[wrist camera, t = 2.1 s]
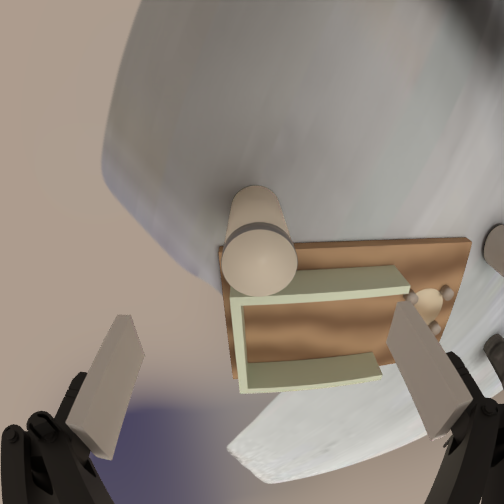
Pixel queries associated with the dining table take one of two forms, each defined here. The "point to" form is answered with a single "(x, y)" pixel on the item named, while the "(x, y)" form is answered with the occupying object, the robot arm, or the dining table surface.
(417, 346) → the robot arm
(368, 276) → the pale green open frame
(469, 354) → the dining table surface
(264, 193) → the beige rounded cylinder
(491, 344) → the beverage cup
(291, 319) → the board
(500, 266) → the beverage can
